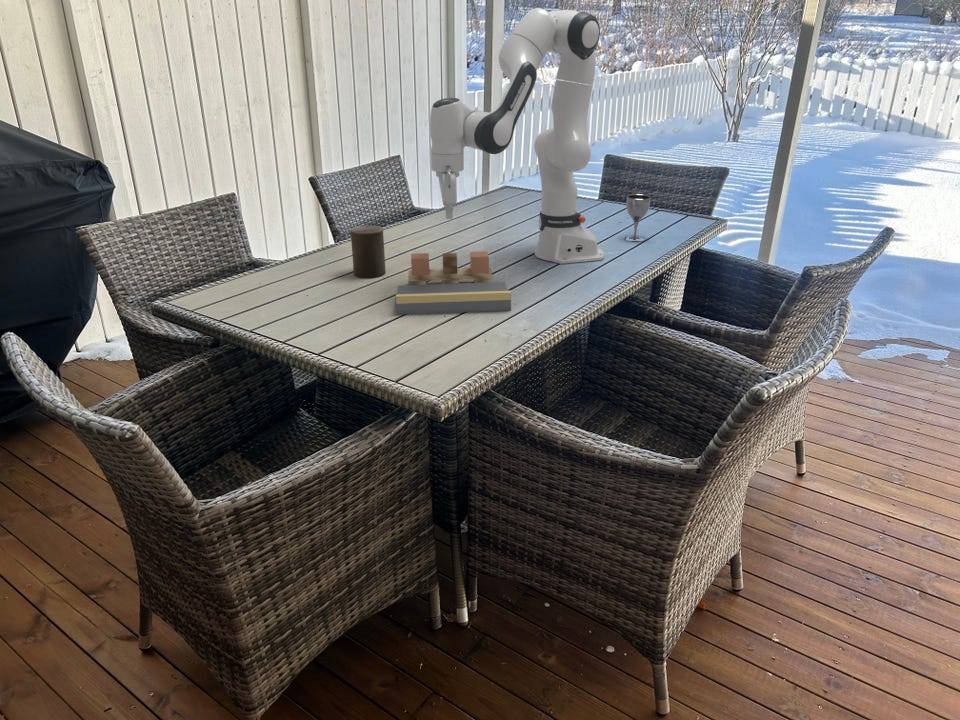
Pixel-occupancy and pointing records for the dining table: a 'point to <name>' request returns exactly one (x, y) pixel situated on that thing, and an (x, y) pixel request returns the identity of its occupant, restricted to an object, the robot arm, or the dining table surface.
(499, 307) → the dock
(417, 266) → the block
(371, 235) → the pillar candle
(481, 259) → the block
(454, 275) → the pallet
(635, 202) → the wine glass
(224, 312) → the dining table surface
